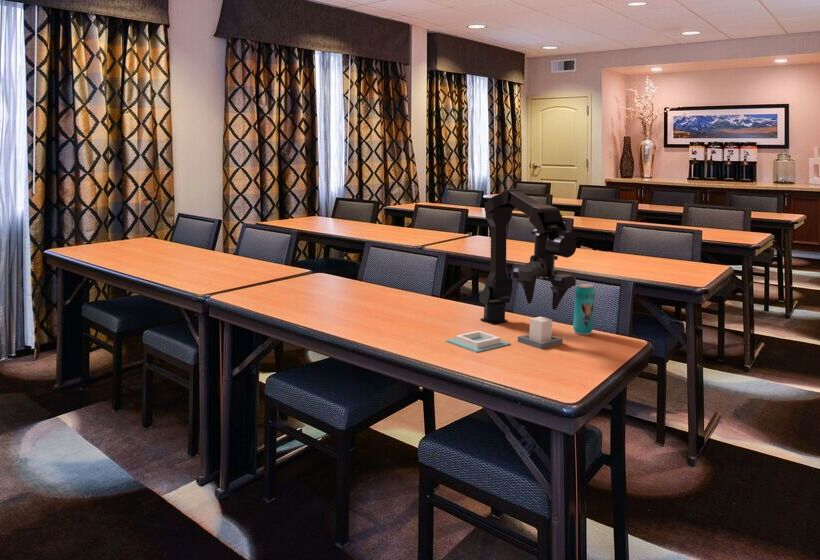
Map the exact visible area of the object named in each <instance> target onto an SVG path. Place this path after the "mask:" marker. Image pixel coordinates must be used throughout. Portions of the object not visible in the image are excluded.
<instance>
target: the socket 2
mask: <svg viewBox="0 0 820 560" xmlns="http://www.w3.org/2000/svg"><path fill="white" fill-rule="evenodd" d="M517 342H519V343H522V344H523V345H524V344H525V345H528V346H531V347H534V348H536V349H541V350H543V349H547V348H551V347H555V346H559V345H562V343H563V342H564V339H563V337H559V336H555V335H552V334H551V340H549V341H545V342H538V341H535V340H532V339H529V333H527V334H524V335H523V334H522V335H519V336H517ZM563 344H564V343H563Z"/></svg>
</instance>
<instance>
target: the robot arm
mask: <svg viewBox="0 0 820 560" xmlns="http://www.w3.org/2000/svg"><path fill="white" fill-rule="evenodd" d="M514 210H518V211H520V212H521V213H523V214H524V215H526V216H527V217H528V221H529V222H530V223H531V225H532V226H533V227H534V229H532V230H531V232H530V234H531V235H534V251H533V255H531V256H530V257H529V262H527V263H524V264H523V265H521V266H519V267H515V268H514V269H513V271H512V277H510V276H509V275H508V272H507V226H508V225H509V223H510V222H511V220H512V218H513V212H514ZM484 214H485V219H486V221H487V223H488V225H489V226H490V272H489V274H488V275H487V277H486V279H485V281H484V282H485V283H484V288H483V290H482V291H481V293H480V294H479V295H478V298H479V303H481V304H483V306H484V307H483V317H481V318H479V319H480V321H481V322H486V323H489V324H492V325H496V324H501V323H506V322H508V319H506V308H505V307H506V305H505V304H510V302H511V298H512V294H513V291H514V289H513V282H514V281H513V278H515V281H517V282H518V283H519V284H520V285H521V286H522V289H523V292H524V295H525V298H526V301H527V304H529V305H530V304H532V302H533V299H534V293H535V287H536V283H537V282H536V281H537V279H538V280H542V281H545V282H550V284H551V286H550V287H549V288H550V290H551V291H552V299H551V300H552V302H551V304H552V308H551V309H552V311H555V310H556V309H557V308H558V307H559V305H560V303H561V301H562V299H563V297H564V295H565V294H566V293H567V291H569V289H572V287H575V286H577V279H576V277H575V276H574V275H572V274H566V273H560V274H557V273H558V270H556V269H555V260H556V261H557V260H558V259H559V258H558V257H562V258H570V257H572V256H574V254H575V252H576V250H577V248H578V247H577V243H576V240H575V238H574V237H572V232H571V231H568V229H567V225H566V223H565V221H564V218H563V216H562V214H561V210H560V209H559V208H558V207H557V206H553V205H550V204H549V205H548V204H542V203H540V202H538V201H537V200H534V199H533V198H531V196H528V195H527V194H525V193H523V192H522V190H520V189H518V188H507V189H503V191H502V192H500V193H499V194H496V195H494V196H492V197H491V198H489V199H487V200H486V202H485V203H484Z"/></svg>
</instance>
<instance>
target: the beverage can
mask: <svg viewBox="0 0 820 560" xmlns="http://www.w3.org/2000/svg"><path fill="white" fill-rule="evenodd" d="M595 288H596V287H595V284H592V283H583V282H582V283H576V287H575V291H574V292H575V293H574V309H573V327H572V328H573V331H574V334H576V333H577V334H576V335H578V334H581V335H580V336H589V335H588V334H590V335H591V334H592V332H593V329H594V314H595V299H596V289H595Z"/></svg>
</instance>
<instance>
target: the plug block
mask: <svg viewBox="0 0 820 560" xmlns="http://www.w3.org/2000/svg"><path fill="white" fill-rule="evenodd" d="M552 328H553V319H551V318H548V317H544V316H537V317H531V318H529V332H528V334H529V339H532V340H535V341H538V342H545V341H549V340H551V335H552V333H553V332H552V331H553V329H552Z"/></svg>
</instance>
